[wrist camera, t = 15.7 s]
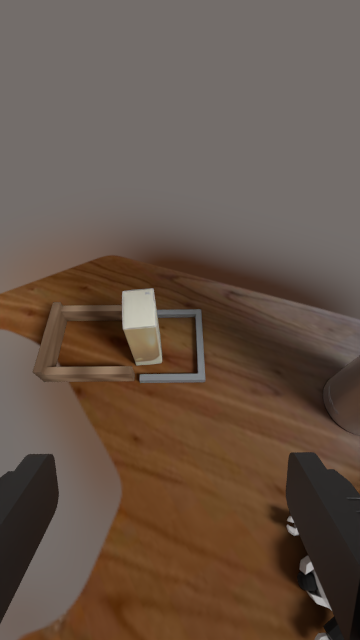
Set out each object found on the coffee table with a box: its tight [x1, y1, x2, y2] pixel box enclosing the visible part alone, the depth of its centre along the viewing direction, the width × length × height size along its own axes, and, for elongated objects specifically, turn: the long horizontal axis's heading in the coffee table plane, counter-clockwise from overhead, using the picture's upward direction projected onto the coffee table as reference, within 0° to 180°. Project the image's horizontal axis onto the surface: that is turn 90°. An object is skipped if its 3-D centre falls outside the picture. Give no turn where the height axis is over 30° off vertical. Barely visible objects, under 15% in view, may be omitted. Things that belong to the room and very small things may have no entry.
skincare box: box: [122, 288, 162, 365], centre depth 41 cm, size 6×4×12 cm
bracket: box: [140, 309, 205, 383], centre depth 46 cm, size 10×13×1 cm
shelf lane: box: [33, 302, 135, 382], centre depth 45 cm, size 14×12×4 cm
